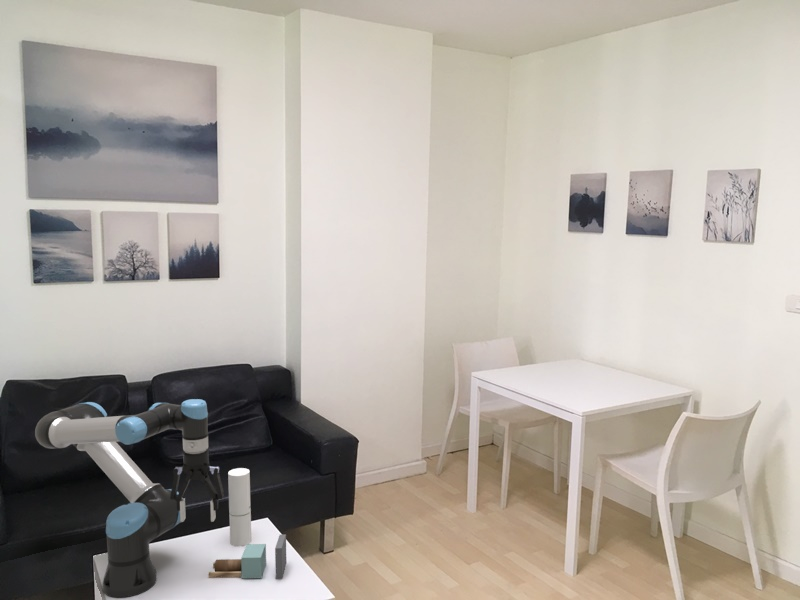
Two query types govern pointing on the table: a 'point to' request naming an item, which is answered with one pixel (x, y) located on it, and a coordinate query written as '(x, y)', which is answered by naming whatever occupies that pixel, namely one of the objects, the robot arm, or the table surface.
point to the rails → (224, 574)
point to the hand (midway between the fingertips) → (198, 519)
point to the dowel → (228, 565)
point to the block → (253, 560)
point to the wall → (280, 556)
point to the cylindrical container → (239, 506)
